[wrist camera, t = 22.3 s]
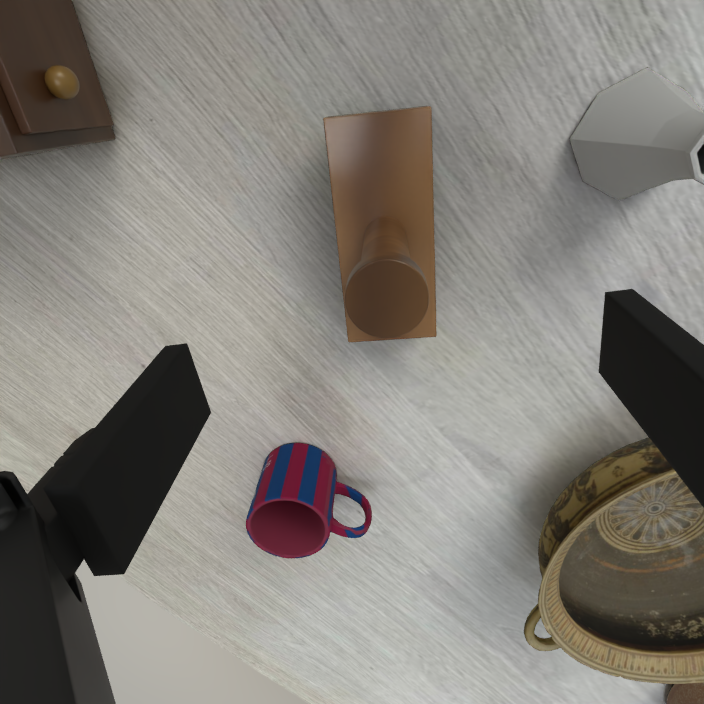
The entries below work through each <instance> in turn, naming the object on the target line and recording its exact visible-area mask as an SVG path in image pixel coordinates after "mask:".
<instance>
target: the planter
mask: <svg viewBox="0 0 704 704" xmlns="http://www.w3.org/2000/svg"><path fill="white" fill-rule="evenodd" d="M667 704H704V683H686V684H674V685H673V687H672V688H671V690H670V692H669V694H668V697H667Z"/></svg>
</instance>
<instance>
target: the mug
mask: <svg viewBox="0 0 704 704" xmlns="http://www.w3.org/2000/svg"><path fill="white" fill-rule="evenodd" d="M336 477H337V472H336V467H335V464H334V463H333V461H332V459H331V458H330V457H329V456H328V455H327V454H326V453H325V452H324V451H322V450H320V449H319V448H317V447H315V446H312V445H309V444H304V443H290V444H285V445H282V446H280V447H278V448H276V449H274V450H273V451H272V452H271V453H270V454H269V455H268V456H267V458H266V460H265V463H264V466H263V469H262V472H261V475H260V478H259V481H258V484H257V487H256V490H255V494H254V497H253V500H252V503H251V506H250V509H249V512H248V515H247V519H246V529H247V533H248V535H249V537H250V538H251V540H252V541H253V542H254V543H255V544H256V545H257V546H258V547H259V548H261V549H262V550H264V551H266V552H268V553H269V554H272V555H275V556H278V557H283V558H302V557H306V556H310V555H312V554H314V553H316V552H318V551H319V550H321V549H322V548H323V547H324V546H325V544H326V543H327V541H328V539H329V536H330V532H333V533H335V534H337V535H340V536H343V537H348V538H358V537H361V536H363V535H364V534H365V533H366V532H367V530H368V528H369V526H370V524H371V519H372V511H371V506H370V504H369V501H368V500H367V499H366V498H365V496H364V495H362V494H361V493H360V492H358V491H357V490H355V489H353V488H351V487H349V486H347V485H345V484H342V483H339V482H337V480H336ZM335 494H341V495H344V496H347V497H349V498H351V499H353V500H354V501H356V502H357V503H359V504H360V506H361V507H362V508H363V510H364V512H365V517H366V519H365V523H364V524H363V525H362V526H360V527H357V528H350V527H347V526H344V525H342V524H340V523H339V522H338V521H337V520H336V519H334V518H333V504H334V496H335Z"/></svg>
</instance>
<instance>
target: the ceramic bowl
mask: <svg viewBox="0 0 704 704" xmlns="http://www.w3.org/2000/svg"><path fill="white" fill-rule="evenodd" d="M538 556H539V565H540V571H541V575H542V582H541V586H540V590H539V596H538V604H537V605H536V606H535V607H534V608H533V610H532V611H531V612H530V614H529V616H528V617H527V620H526V622H525V627H524V635H525V638H526V641H527V642H528V643H529V645H531V646H532V647H533V648H535V649H537V650H539V651H552V650H555V649H558V648H562V649H563V650H564V652H566V653H567V654H568V655H569V656H571V657H572V658H574V659H575V660H577V661H578V662H580V663H582V664H584V665H586V666H588V667H590V668H592V669H595V670H599V671H601V672H603V673H606V674H609V675H613V676H616V677H618V676H621V677H623V678H625V679H630V680H635V681H642V682H652V683H664V684H686V683H704V508H703V506H702V505H701V504H700V503H699V501H698V500H697V499H696V497H695V496H694V495H693V494H692V492H691V491H690V490H689V488H688V487H687V486H686V484H685V483H684V482H683V481H682V479H681V478H680V477H679V475H678V474H677V473H676V472H675V470H674V469H673V468H672V466H671V465H670V464H669V462H668V461H667V460H666V459H665V457H664V456H663V455H662V453H661V452H660V451H659V450H658V448H657V447H656V446H655V444H654V443H653V442H652V440H651V439H650V438H646V439H643V440H640V441H638V442H635V443H632V444H629V445H627V446H625V447H623V448H621V449H619V450H617V451H615V452H613V453H611V454H609V455H607V456H606V457H604V458H602V459H600V460H599V461H597V462H596V463H594V464H593V465H592V466H590V467H589V468H587V469H586V470H585V471H584V472H582V473H581V474H580V475H579V476H578V477H576V478H575V479H574V480H573V481H572V482H571V483H570V484H569V485H568V486H567V488H566V489H565V490H564V491H563V492H562V493H561V494H560V496H559V497H558V499H557V500H556V502H555V503H554V505H553V506H552V508H551V510H550V512H549V514H548V516H547V518H546V520H545V522H544V525H543V528H542V531H541V535H540V539H539V547H538ZM540 618H541V619H542V622H543V624H544V626H545V628H546V630H547V632H548V633H549V634H550V635H551V636H552V637H550V638H545V639H543V638H539V637H537V636H536V635H535V634H534V630H535V626H536V624H537V622H538V621H539V619H540Z"/></svg>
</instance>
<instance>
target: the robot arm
mask: <svg viewBox="0 0 704 704" xmlns="http://www.w3.org/2000/svg"><path fill="white" fill-rule="evenodd" d="M599 373H600V374H601V376H602V377H603V378H604V380H605V381H606V382H607V384H608V385H609V386H610V387H611V389H612V390H613V391H614V393H615V394H616V395H617V396H618V398H619V399H620V400H621V402H622V403H623V404H624V406H625V407H626V408H627V409H628V411H629V412H630V413H631V415H632V416H633V417H634V418H635V420H636V421H637V422H638V424H639V425H640V426H641V428H642V429H643V430H644V431H645V433H646V434H647V435H648V437H649V438H650V439H651V440H652V442H653V443H654V444H655V446H656V447H657V448H658V450H659V451H660V452H661V453H662V455H663V456H664V457H665V459H666V460H667V461H668V462H669V464H670V465H671V466H672V468H673V469H674V470H675V472H676V473H677V474H678V475H679V477H680V478H681V479H682V481H683V482H684V483H685V484H686V486H687V487H688V488H689V490H690V491H691V492H692V494H693V495H694V496H695V497H696V499H697V500H698V501H699V503H700V504H701V505H702V506H703V508H704V345H703V344H702V343H700V342H699V341H698V340H697V339H695V338H694V337H693V336H692V335H690V334H689V333H688V332H686V331H685V330H684V329H683V328H681V327H680V326H679V325H678V324H676V323H675V322H674V321H673V320H671V319H670V318H669V317H667V316H666V315H665V314H664V313H662V312H661V311H660V310H659V309H657V308H656V307H655V306H653V305H652V304H651V303H650V302H648V301H647V300H646V299H645V298H643V297H642V296H641V295H639V294H638V293H637V292H636V291H634V290H633V289H628V290H620V291H612V292H605V301H604V314H603V326H602V338H601V351H600V363H599ZM210 413H211V411H210V408H209V405H208V402H207V399H206V397H205V394H204V391H203V388H202V385H201V382H200V379H199V376H198V374H197V371H196V368H195V365H194V362H193V359H192V356H191V353H190V351H189V348H188V345H187V344H179V345H170V346H165V347H164V348H163V349H162V350H161V352H160V353H159V354H158V355H157V356H156V357H155V359H154V360H153V361H152V362H151V363H150V364H149V366H148V367H147V368H146V369H145V370H144V371H143V373H142V374H141V375H140V376H139V377H138V378H137V380H136V381H135V382H134V383H133V384H132V385H131V387H130V388H129V389H128V390H127V391H126V392H125V394H124V395H123V396H122V397H121V398H120V399H119V401H118V402H117V403H116V404H115V405H114V406H113V408H112V409H111V410H110V411H109V412H108V413H107V414H106V416H105V417H104V418H103V419H102V420H101V421H100V423H99V424H98V425H97V426H96V427H95V428H92V429H90V430H89V431H87V432H86V433H85V434H83V435H82V436H80V437H79V438H78V439H76V440H75V441H74V442H73V443H72V444H71V445H70V447H69V448H68V449H67V450H66V451H65V452H64V453H63V454H64V455H63V456H61V457H60V458H59V459H58V460H57V461H56V462H55V464H54V467H51V468H50V469H49V470H48V471H47V473H46V474H45V475H44V476H43V477H42V478H41V479H40V480H39V482H38V483H37V484H36V485H35V486H34V487H33V488H32V490H31V491H30V492H29V493H28V494H27V493H26V492H25V490H24V488H23V487H22V485H21V483H20V482H19V480H18V479H17V477H16V476H15V474H14V473H13V472H8V471H2V472H0V704H115V700H114V696H113V693H112V689H111V686H110V683H109V679H108V676H107V672H106V669H105V665H104V661H103V658H102V654H101V652H100V647H99V644H98V640H97V637H96V634H95V630H94V626H93V623H92V619H91V616H90V613H89V609H88V606H87V602H86V598H85V595H84V591H83V588H82V585H81V582H80V580H79V579H78V577H77V575H76V574H75V572H76V570H77V569H78V567H79V566H80V564H81V563H82V561H83V559H85V561H86V563H87V565H88V566H89V568H90V570H91V571H92V573H93V575H94V576H101V575H118V574H124V573H125V572H126V570H127V568H128V566H129V564H130V562H131V560H132V559H133V557H134V555H135V553H136V551H137V549H138V547H139V546H140V544H141V542H142V540H143V538H144V536H145V534H146V533H147V531H148V529H149V527H150V525H151V523H152V521H153V519H154V518H155V516H156V514H157V512H158V510H159V508H160V506H161V505H162V503H163V501H164V499H165V497H166V495H167V493H168V492H169V490H170V488H171V486H172V484H173V482H174V480H175V479H176V477H177V475H178V473H179V471H180V469H181V467H182V465H183V464H184V462H185V460H186V458H187V456H188V454H189V452H190V451H191V449H192V447H193V445H194V443H195V441H196V439H197V438H198V436H199V434H200V432H201V430H202V428H203V426H204V425H205V423H206V421H207V419H208V417H209V415H210Z"/></svg>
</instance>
